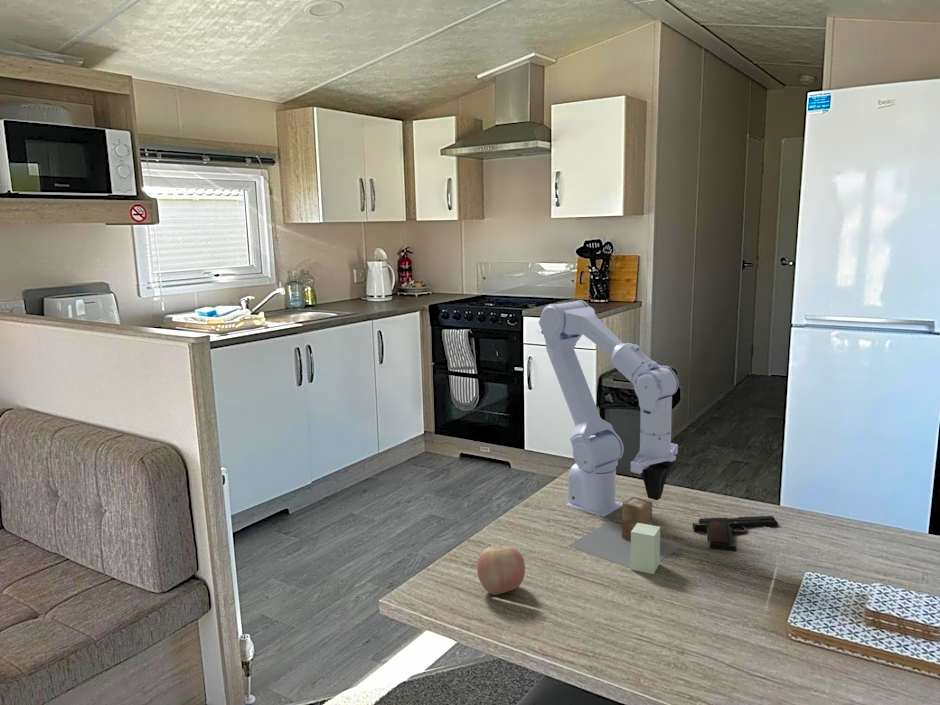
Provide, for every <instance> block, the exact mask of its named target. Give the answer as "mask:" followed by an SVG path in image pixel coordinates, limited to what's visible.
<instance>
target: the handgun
mask: <svg viewBox="0 0 940 705" xmlns="http://www.w3.org/2000/svg"><path fill="white" fill-rule="evenodd" d="M778 526H779V523H778V521H777V520H776V518H775V516H773V515H764V516H763V515H760V516H759V515H758V516H755V515H754V516H753V515H752V516H738V517H730V518H729V517H703V518H698V522H697V523H695V522H692V530H693V532H694V533H698V532H699V533H701V532H702V533H706V538H707V540H706V541H707V542H708V545H709V549H710V550H711V549H712V550H718V551H719V550H721V551H730V552H736V551H737V547H736V546H734V537H733V536H736V535H745V534H746V533H747V528H748V529H749V528H750V529H751V528H759V527H762V528H763V527H765V528H774V527H775V528H777V527H778ZM736 529H738V530H736Z"/></svg>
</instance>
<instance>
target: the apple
mask: <svg viewBox="0 0 940 705" xmlns="http://www.w3.org/2000/svg"><path fill="white" fill-rule="evenodd" d="M476 572H477V576H478V579H479V583H480V584H481V586H482V587H483V589H484V590H485V591H486V592H487V593H489V594H491V595H494V596H498V595H501V594H504V593H507V592H511V591H512V590H514V589H515V590H516V589H517V588H519V587H520V586H521V584H522V583H523V582H524V578H525V574H526V563H525V560H524V558H523V555H522V553H521V552H520V551H519V550H518V548H516V547H514V546H509V545H492V546H488V547H486V548H485V549H483V550H482V552H481V553H480V555H479V556H478V560H477V563H476Z"/></svg>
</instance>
